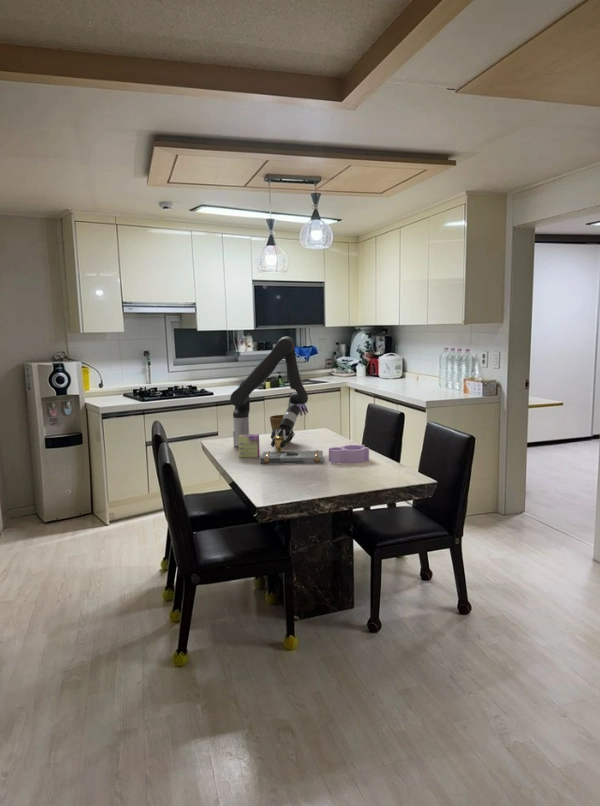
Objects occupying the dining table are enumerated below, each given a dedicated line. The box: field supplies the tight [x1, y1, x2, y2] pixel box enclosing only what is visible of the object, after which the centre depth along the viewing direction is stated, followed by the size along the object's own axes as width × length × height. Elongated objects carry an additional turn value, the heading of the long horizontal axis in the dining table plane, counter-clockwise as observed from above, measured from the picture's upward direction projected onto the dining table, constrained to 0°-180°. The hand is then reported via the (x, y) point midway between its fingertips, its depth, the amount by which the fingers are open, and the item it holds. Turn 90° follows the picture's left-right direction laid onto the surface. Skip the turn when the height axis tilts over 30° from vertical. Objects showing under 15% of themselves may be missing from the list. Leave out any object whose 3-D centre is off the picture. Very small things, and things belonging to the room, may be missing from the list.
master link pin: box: [274, 436, 284, 451], centre depth 284 cm, size 5×5×10 cm
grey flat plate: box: [260, 449, 324, 465], centre depth 272 cm, size 32×15×3 cm, turn 88°
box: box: [238, 433, 261, 458], centre depth 282 cm, size 10×6×12 cm, turn 84°
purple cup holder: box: [328, 444, 370, 464], centre depth 268 cm, size 20×12×7 cm, turn 103°
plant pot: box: [269, 414, 294, 444], centre depth 311 cm, size 15×15×16 cm
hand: (277, 446), depth 283 cm, fingers open, 5 cm apart
